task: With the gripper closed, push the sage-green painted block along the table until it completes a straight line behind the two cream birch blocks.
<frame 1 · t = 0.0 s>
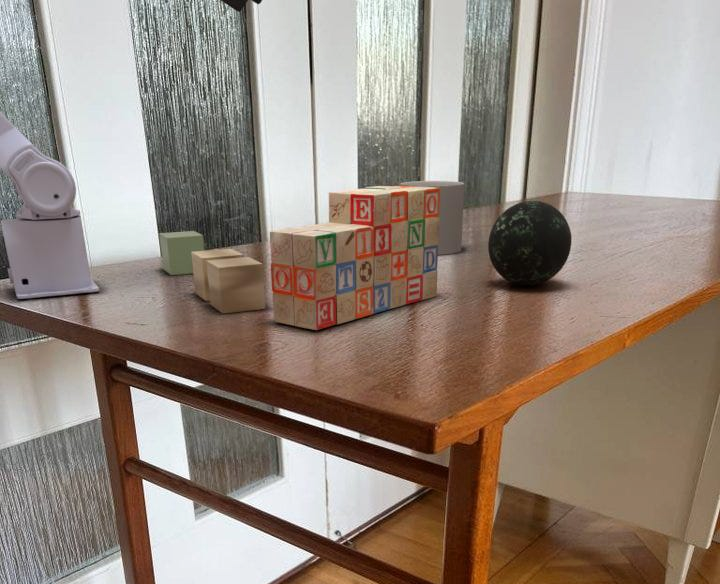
hand: (253, 1, 92), 32 cm above the table, tool tilted 50°, fingers open, 7 cm apart
middle birch block: (220, 295, 92), on the table
front birch block: (237, 306, 86), on the table
stack of blocks: (360, 310, 84), on the table
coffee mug: (435, 249, 122), on the table
sage block: (184, 270, 107), on the table
decorative stone: (525, 286, 95), on the table
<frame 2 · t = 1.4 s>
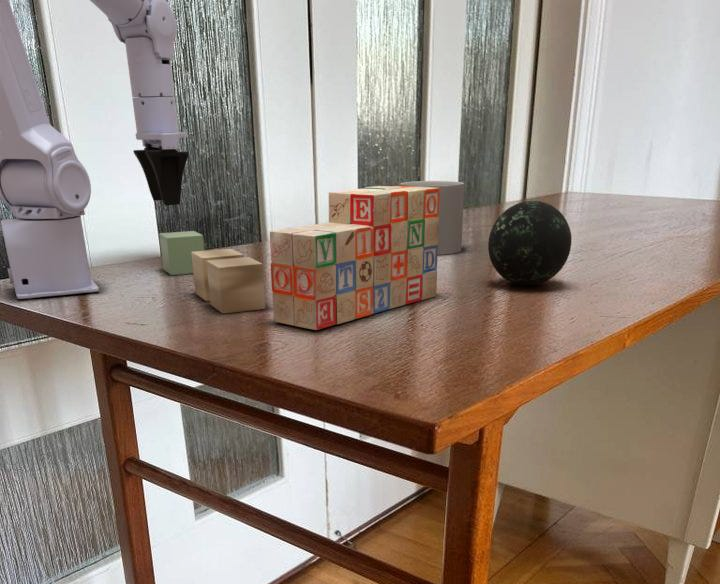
hand: (166, 202, 110), 8 cm above the table, tool pointing down, fingers open, 7 cm apart
nothing on the table moved.
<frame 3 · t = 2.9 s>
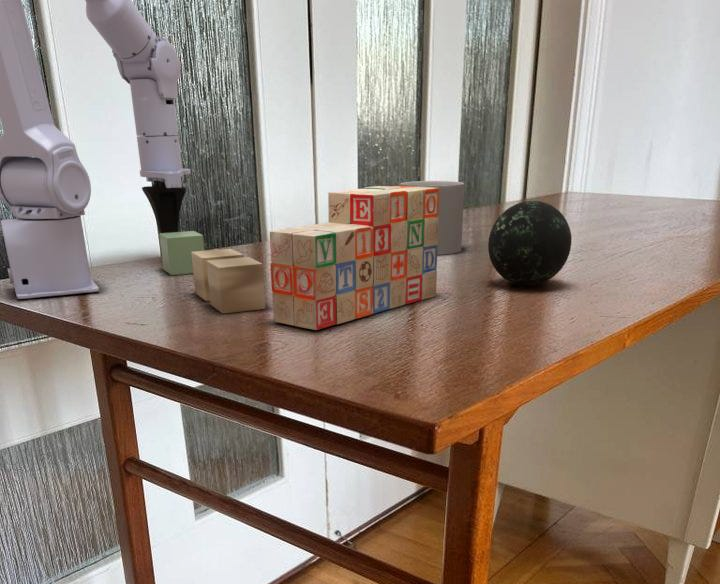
hand: (169, 236, 112), 4 cm above the table, tool pointing down, fingers closed
nothing on the table moved.
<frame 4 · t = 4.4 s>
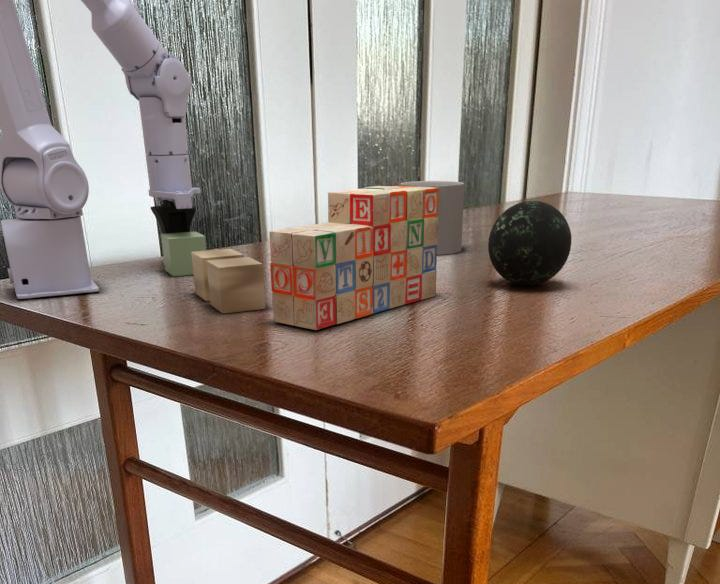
hand: (178, 257, 109), 1 cm above the table, tool pointing down, fingers closed
sage block: (186, 271, 106), on the table, touching gripper
everything else where it was.
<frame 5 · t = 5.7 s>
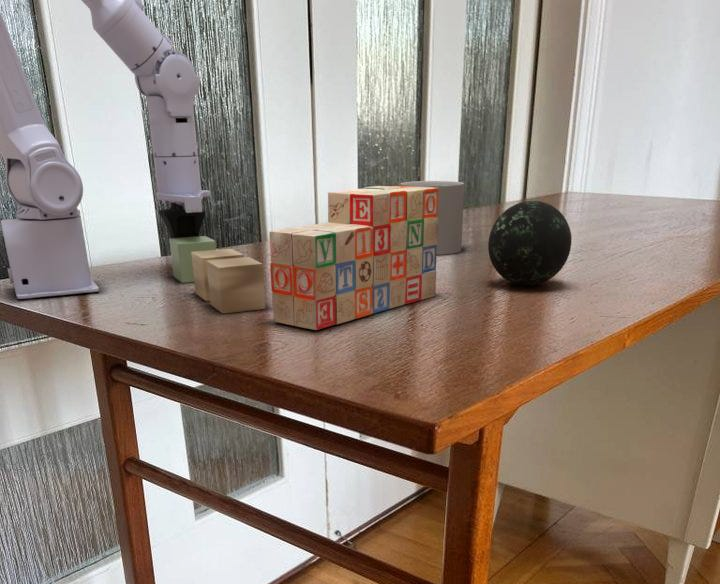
hand: (187, 262, 104), 1 cm above the table, tool pointing down, fingers closed
sage block: (195, 278, 102), on the table, touching gripper
everything else where it was.
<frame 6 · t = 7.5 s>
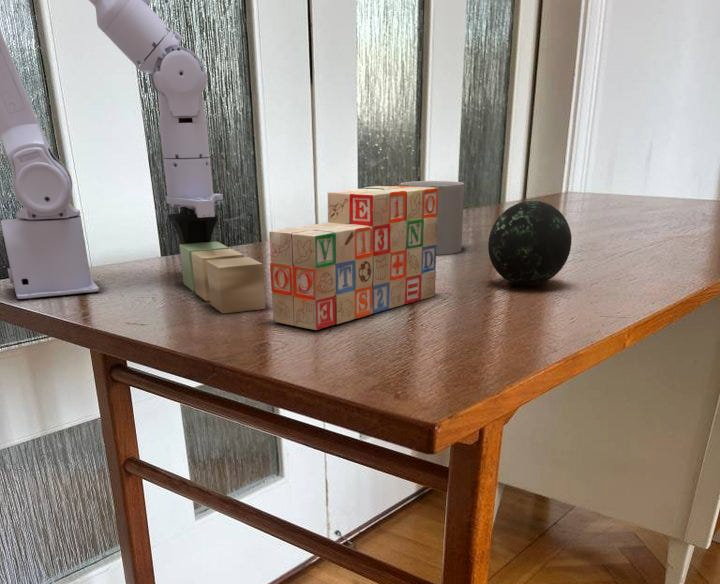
hand: (198, 269, 100), 1 cm above the table, tool pointing down, fingers closed
sage block: (207, 285, 97), on the table, touching gripper
everything else where it was.
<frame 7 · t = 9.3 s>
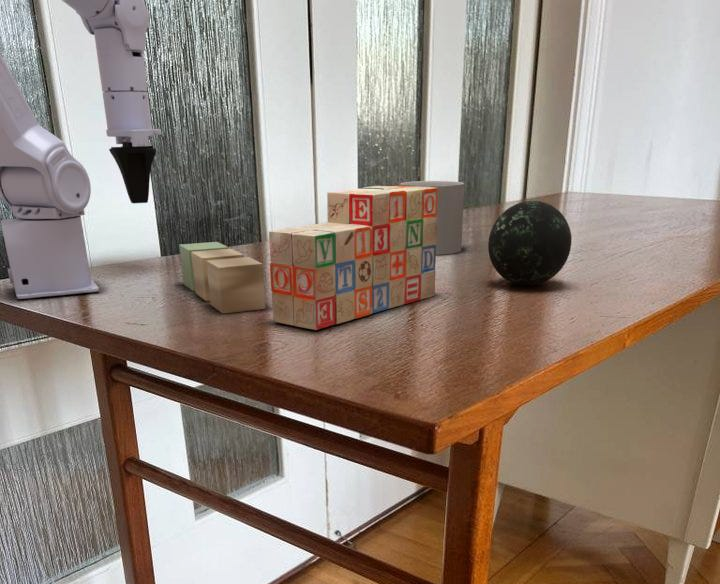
hand: (139, 202, 104), 9 cm above the table, tool pointing down, fingers closed
sage block: (207, 285, 97), on the table
everything else where it was.
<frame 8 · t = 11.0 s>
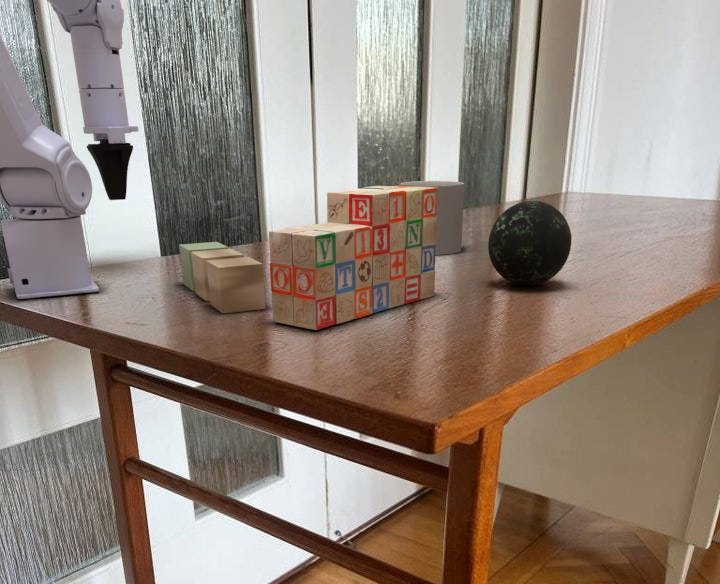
hand: (117, 199, 105), 9 cm above the table, tool pointing down, fingers closed
nothing on the table moved.
at the end: sage block 0.5 cm from the target spot on the table beside the front birch block, on the table; sage block tilted 0°; front birch block moved 0.0 cm from its start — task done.
